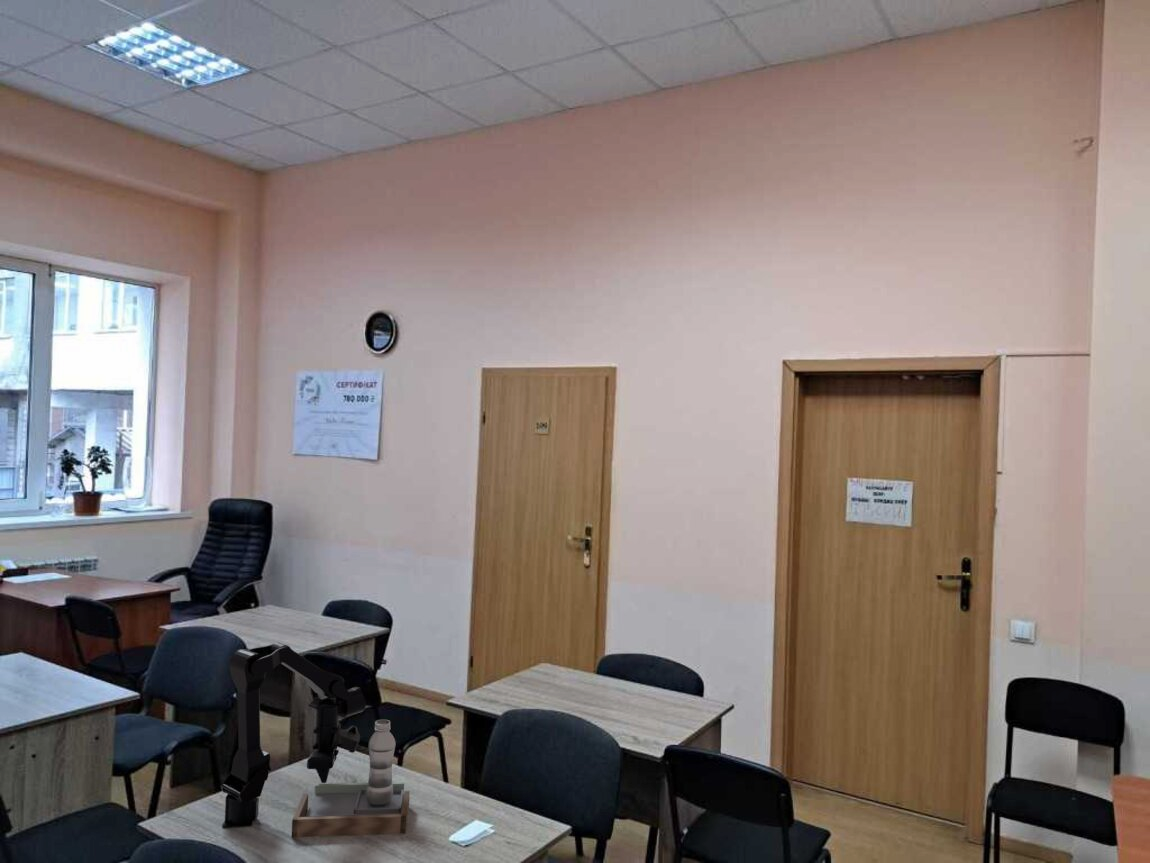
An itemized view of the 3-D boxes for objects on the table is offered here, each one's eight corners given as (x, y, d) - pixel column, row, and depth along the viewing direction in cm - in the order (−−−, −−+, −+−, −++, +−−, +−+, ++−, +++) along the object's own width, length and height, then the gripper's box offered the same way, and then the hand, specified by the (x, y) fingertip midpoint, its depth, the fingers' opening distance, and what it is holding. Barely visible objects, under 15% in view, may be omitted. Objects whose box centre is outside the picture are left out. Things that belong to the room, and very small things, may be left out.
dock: (291, 837, 181) (292, 819, 181) (302, 810, 194) (303, 793, 194) (405, 833, 185) (406, 816, 185) (408, 807, 198) (409, 791, 198)
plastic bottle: (372, 795, 202) (376, 716, 202) (397, 799, 200) (400, 719, 200) (360, 806, 195) (363, 724, 195) (385, 810, 194) (389, 728, 194)
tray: (305, 819, 189) (306, 808, 189) (315, 795, 202) (315, 784, 202) (400, 817, 193) (400, 805, 193) (403, 792, 205) (404, 781, 205)
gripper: (354, 735, 199) (351, 797, 199) (362, 709, 217) (360, 766, 217) (307, 735, 197) (305, 799, 197) (320, 709, 216) (317, 767, 216)
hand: (324, 782), depth 207 cm, fingers closed
